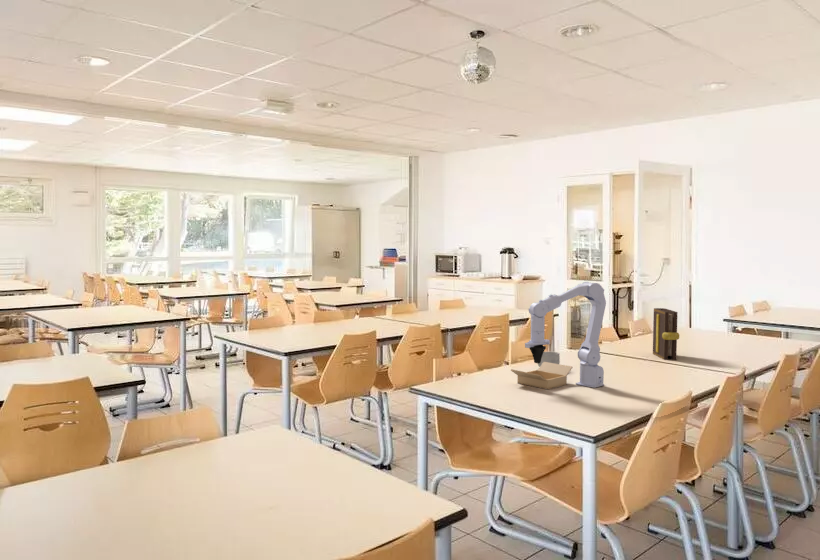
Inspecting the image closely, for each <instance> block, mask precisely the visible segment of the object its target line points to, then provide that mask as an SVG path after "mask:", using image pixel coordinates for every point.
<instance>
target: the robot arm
mask: <svg viewBox="0 0 820 560" xmlns="http://www.w3.org/2000/svg"><path fill="white" fill-rule="evenodd" d="M578 296H582V297H585V298H586V299H587V300H588V301H589V303H590V304H591V306H592V307H591V310H590V315H589V319H588V324H587V329H586V330H587V331H586V335H585V339H584V341H582V343H581V345H580V347H579V349H578V351H577V358H578V359H579V360H580V361H579V381H577V382H575V385H578V386H584V387H587V388H588V387H589V388H593V389H594V388H600V387H602V386H605V383H604V373H605V372H604V368H603V366H601V365H599V363H600V361H601V354H600V353H601V348H600V346H599V339H600V334H601V331H602V330H601V328H602V326H603V320H604V317H605V315H604V314H605V311H606V306H607V301H606V297H605V289H604V287H603V286H602V285H601V284H600V283H598V282H589V281H584V282H582V283H578V284H577V285H575V286H573V287H571V288H570V289H568V290H566V291H564V292H562V293H560V294H558V295H557V294H552V293H551V294H549V295H548V296H547V297H545V298H544V299H539V300H538V302H535V301H534V302H533V303H531V304H530V305H529V308H528V313H529V315H530V340H528V342H525V343H524V348H526V349H529V350H530V352H531V354H532V359H533V361H534V364H538V363H540V362H541V358H542V355H543V352H545V351H546V347H547V346H545V345H550V343H551V341H550V339H547V338H546V339H545V327H546V326H545V316H546V315H547V313H549V312H551V311H554V310H556V309H558V308H560V307H562V303H564V302H566V301H568V300H571V299H573V298H575V297H578Z"/></svg>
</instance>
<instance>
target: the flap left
mask: <svg viewBox="0 0 820 560" xmlns="http://www.w3.org/2000/svg"><path fill="white" fill-rule="evenodd" d="M510 371H511V372H512V373H513V374H515V375H516V376H517V377H518V376H523V377H528V378H533V379H538V380H543V381H547V380H546V379H545V378H543V377H542V376H541V375H538V374H533V373H528V372H529V371H521V370H516V369H512V368H511V369H510Z"/></svg>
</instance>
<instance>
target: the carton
mask: <svg viewBox="0 0 820 560" xmlns="http://www.w3.org/2000/svg"><path fill="white" fill-rule="evenodd" d="M527 372H528V373H533V374H538V375H541V376H542V377H543V378H545V379H546V380H547V381H543V380H538V379H533V378H528V377H523V376H518V375H517V384H520V385H524V386H529V387H532V388H538V389H541V390H542V389H543V390H548V391H549V390H552V389H556V388H560V387H564V386H568V385H567V383H568V382H567V380H568V375H567V376H566V375H561V374H555V373H550V372H545V371H539V370H538V369H534V370H529V371H527Z"/></svg>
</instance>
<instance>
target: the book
mask: <svg viewBox="0 0 820 560" xmlns="http://www.w3.org/2000/svg"><path fill="white" fill-rule="evenodd" d="M652 324H653V327H652V328H653V329H652V331H653V333H652V354H653V355H654V356H656V357H658V358H660V359H662V360H664V361H666V360H669V359H670V360H673V361H677V347H678V346H677V343H678V341H677V340H679V339H680V334H679V332H678V311H674V310H671V309H668V308H661V307H660V308H659V307H655V308H653V323H652Z"/></svg>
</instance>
